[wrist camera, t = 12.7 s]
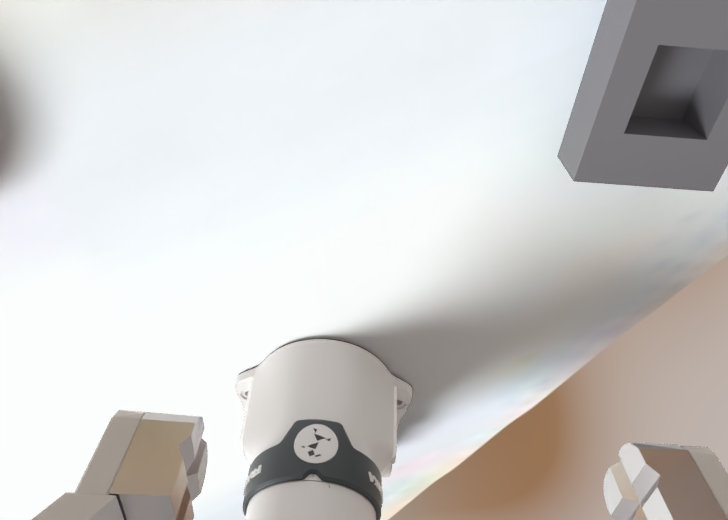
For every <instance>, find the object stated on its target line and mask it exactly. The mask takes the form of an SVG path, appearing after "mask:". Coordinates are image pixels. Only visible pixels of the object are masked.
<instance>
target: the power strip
mask: <svg viewBox="0 0 728 520" xmlns="http://www.w3.org/2000/svg"><path fill="white" fill-rule="evenodd" d="M558 158H559V159H560V161H561V162H562V164H563V166H564V167H565V169H566V170H567V172H568V173H569V175H570V176H571V178H572V179H573V181H578V182H592V183H605V184H619V185H632V186H646V187H660V188H673V189H687V190H700V191H714V189H715V187H716V185H717V183H718V181H719V180H720V178H721V176H722V174H723V172H724V170H725V168H726V167H727V165H728V0H607V3H606V6H605V9H604V12H603V15H602V18H601V22H600V25H599V28H598V31H597V34H596V37H595V40H594V43H593V47H592V50H591V53H590V56H589V59H588V62H587V65H586V69H585V72H584V75H583V78H582V81H581V84H580V87H579V91H578V94H577V97H576V100H575V103H574V106H573V109H572V113H571V116H570V119H569V122H568V125H567V128H566V131H565V135H564V138H563V141H562V144H561V147H560V150H559V153H558Z"/></svg>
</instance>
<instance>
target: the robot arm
mask: <svg viewBox="0 0 728 520" xmlns="http://www.w3.org/2000/svg"><path fill="white" fill-rule="evenodd" d="M235 389H236V392H237V394H238V397H239V399H240V401H241V404H242V406H243V409H244V411H245V413H244V419H243V424H242V429H241V435H240V441H239V447H240V448H241V449H242V450H243V453H244V456H245V458H246V459H247V461H248V462H249V463H250V465H251V466H250V469H249V474H248V478H247V480H246V483H245V488H244V502H243V512H244V515H245V520H380V517H381V507H382V501H383V492H382V487H381V477H389V476H390V474H391V470H392V464H394V462H395V459H396V451H397V427H398V425H399V423H400V421H401V419H402V417H403V415H404V413H405V411H406V410H407V408H408V406H409V404H410V402H411V400H412V393H413V389H412V387H411V386H410V385H409V384H408V383H406V382H404V381H402V380H401V379H399V378H397V377H395V376H393V375H392V374H391V373H390V372H389V371H388V369H387V368H386V367H385V366H384V364H383V363H382V362H381V361H380V360H379V359H378V358H377V357H375V356H374V355H373V354H371V353H370V352H368V351H366V350H364V349H362V348H360V347H358V346H355V345H353V344H349V343H346V342H342V341H336V340H328V339H312V340H304V341H299V342H294V343H291V344H288V345H286V346H283V347H281V348H279V349H277V350H276V351H274V352H273V353H272V354H270V355H269V356H268V357H267V358H266V359H265V360H264V361H263V362H262V363H261V364H260V365H259V366H257V367H256V368H253V369H251V370H248V371H245V372H243V373H241V374H239V375H238V376H237V377H236V381H235ZM203 431H204V423H203V418H202V417H199V416H187V415H175V414H163V413H151V412H139V411H124V410H119V411H118V412H117V413H116V414H115V415H114V416H113V417H112V418H111V420H110V422H109V424H108V426H107V428H106V430H105V432H104V434H103V436H102V438H101V440H100V443H99V445H98V447H97V449H96V451H95V453H94V455H93V457H92V459H91V461H90V463H89V465H88V467H87V469H86V471H85V473H84V475H83V477H82V479H81V481H80V483H79V485H78V487H77V489H76V491H75V493H65V494H63V495H62V496H61V497H60V498H58V499H57V500H56V501H55V502H53V503H52V504H51V505H50V506H48V507H47V508H46V509H44V510H43V511H42V512H41V513H39V514H38V515H37V516H36V517H34V518H33V519H32V520H193V518H194V513H193V507H192V501H193V500H194V499H195V498H196V497H197V496H198V495H199V494H200V493H201V490H202V486H203V482H204V478H205V472H206V466H207V443H206V442H205V441H204V440H203V439H202V438H201V437H202V434H203ZM618 454H619V456H620V459H621V461H620V462H618V463H616V464H614V465H612V466H611V467H610V468H609V469H608V472H607V473H606V475H605V477H604V497H605V502H606V505H607V508H608V510H609V513H610V516H611V517H612V518H613V519H614V520H728V474H727V472H726V471H725V469H724V467H723V466H722V464H721V463H720V462H719V460H718V458H717V456H716V455H715V454H714V453H713V452H712V451H711V450H710V449H709V448H708V447H701V446H679V445H675V444H654V443H630V442H629V443H627V444H625V445H623V447H622V448H621V450H620V451H619V453H618Z"/></svg>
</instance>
